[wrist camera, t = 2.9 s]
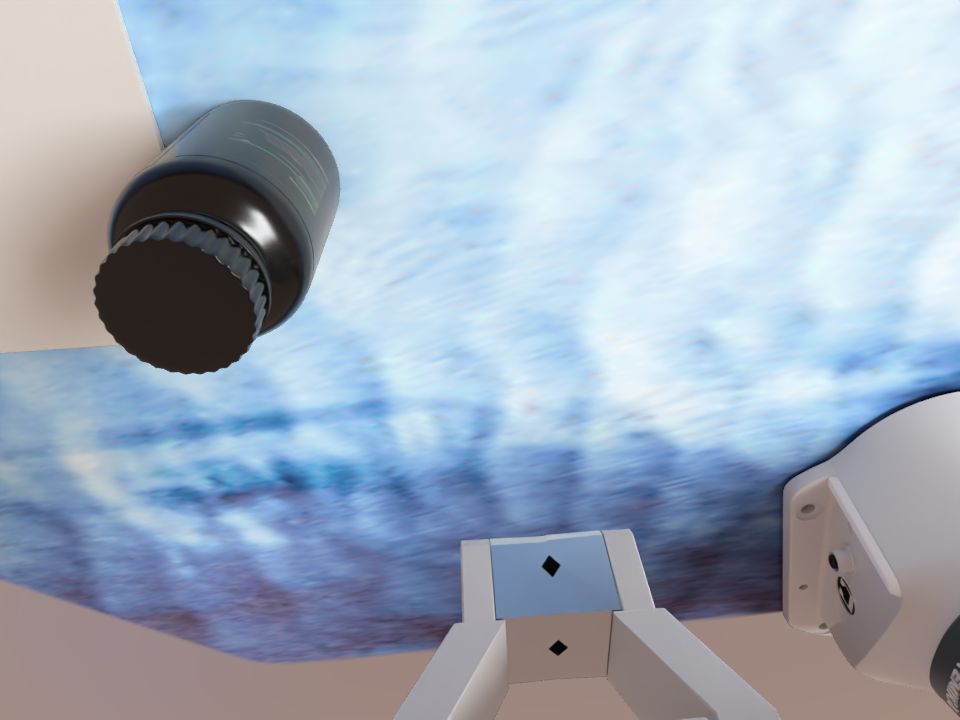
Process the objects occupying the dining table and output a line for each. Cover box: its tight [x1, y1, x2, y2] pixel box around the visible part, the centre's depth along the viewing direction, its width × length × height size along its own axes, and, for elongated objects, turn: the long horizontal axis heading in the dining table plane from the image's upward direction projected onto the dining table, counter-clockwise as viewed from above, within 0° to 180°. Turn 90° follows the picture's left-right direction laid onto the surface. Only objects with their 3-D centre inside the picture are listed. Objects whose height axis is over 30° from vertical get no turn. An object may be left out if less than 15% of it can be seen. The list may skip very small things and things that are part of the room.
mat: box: [0, 0, 165, 353], centre depth 30 cm, size 16×13×1 cm
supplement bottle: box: [93, 100, 340, 374], centre depth 25 cm, size 7×7×12 cm
